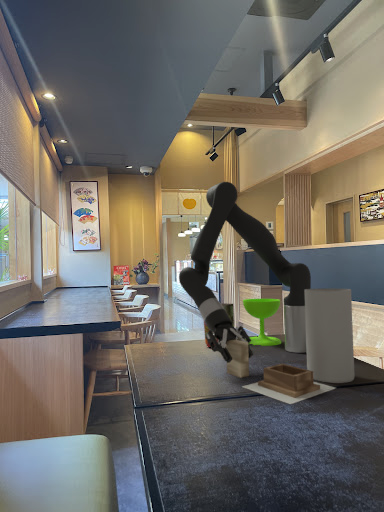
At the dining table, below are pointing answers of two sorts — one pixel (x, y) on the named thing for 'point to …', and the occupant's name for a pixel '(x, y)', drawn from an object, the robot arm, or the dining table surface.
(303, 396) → the mat
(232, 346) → the beech block
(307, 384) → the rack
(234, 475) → the dining table surface
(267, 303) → the wineglass
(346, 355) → the cylinder vase
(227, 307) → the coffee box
